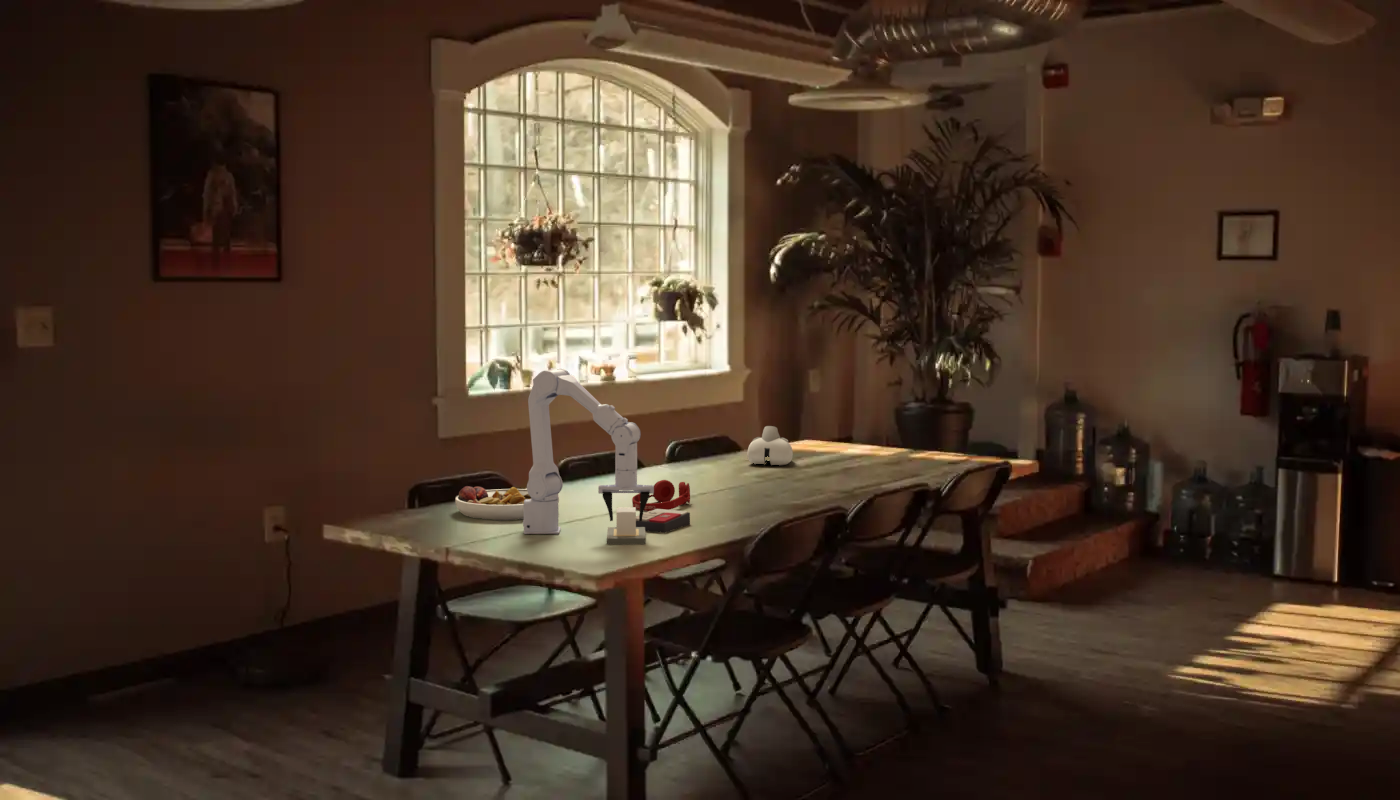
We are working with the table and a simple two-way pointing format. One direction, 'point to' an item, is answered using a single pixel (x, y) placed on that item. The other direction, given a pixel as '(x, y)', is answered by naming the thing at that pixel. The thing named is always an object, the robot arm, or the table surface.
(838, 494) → the table surface
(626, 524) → the block
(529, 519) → the robot arm
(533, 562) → the table surface
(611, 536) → the board
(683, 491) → the headphones
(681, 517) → the calculator
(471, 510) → the bowl
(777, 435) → the off-white rounded lobed piece
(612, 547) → the table surface
